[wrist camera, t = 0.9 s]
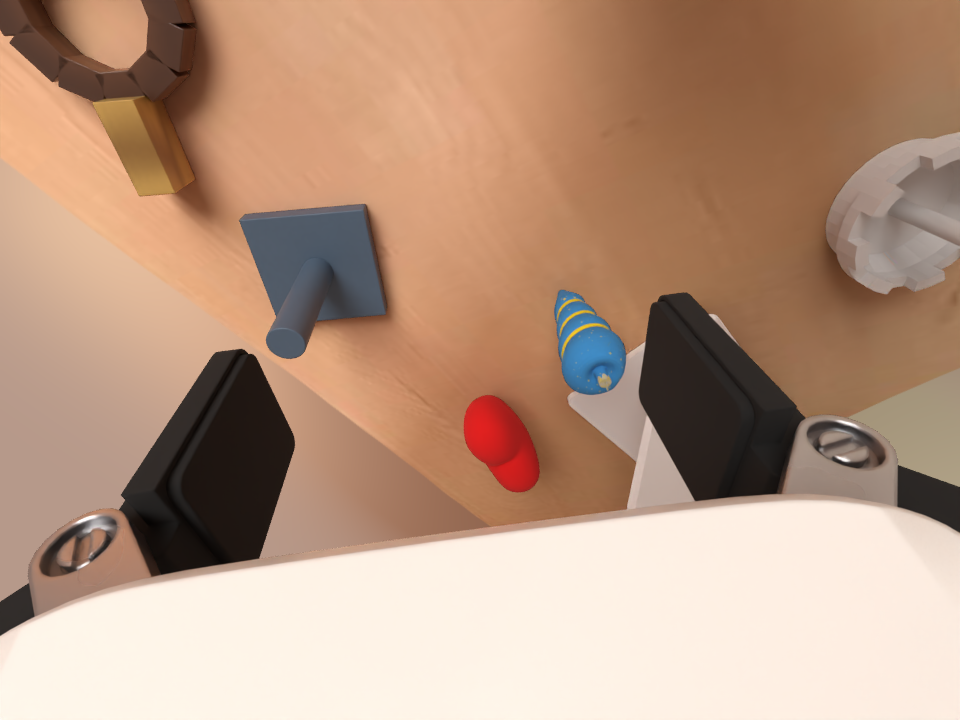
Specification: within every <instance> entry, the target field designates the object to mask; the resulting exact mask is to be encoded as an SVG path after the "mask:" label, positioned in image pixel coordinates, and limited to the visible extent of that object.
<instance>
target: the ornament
mask: <svg viewBox="0 0 960 720" xmlns="http://www.w3.org/2000/svg"><path fill="white" fill-rule="evenodd" d="M554 314H555V320H556V323H557V336H558V339H559V345H558V351H559V356H560V359H561V362H562V373H563V376H564V379H565V381H566V383H567V384H568V385H569V386H570V387H571V388H572V389H573V390H574V391H576V392H578V393H581V394H586V395H597V394H602V393H605V392H608V391H610V390H612V389H613V388H615V386H616V385H617V384H618V382H619V381H620V379H621V378H622V376H623V374H624V371H625V366H626V351H625V347H624V344H623V342H622V341H621V339H620V338H619V337H618V336H617V335H616V334H615V333H614V332H612V331H611V329H610V326H609V325H608V323H607V322H606V321H605V320H603V319H602V318H601V317H599V316H597V314H596V312H595V311H594V309H593V308H592V307H590V306H589V305H587V304H586V303H585V301H584V299H583V298H582V297H581V296H580V295H579V294H577V293H573V292H569V291H565V290H560V291H559V293H558V296H557V300H556V304H555V310H554Z"/></svg>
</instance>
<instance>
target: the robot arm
mask: <svg viewBox="0 0 960 720" xmlns="http://www.w3.org/2000/svg"><path fill="white" fill-rule="evenodd" d="M639 399H640V402H641V405H642V406H643V408H644V410H645V412H646V414H647V415H648V417H649V419H650V421H651V423H652V424H653V426H654V428H655V430H656V432H657V434H658V435H659V437H660V439H661V441H662V443H663V444H664V446H665V448H666V450H667V452H668V453H669V455H670V457H671V459H672V461H673V462H674V464H675V466H676V468H677V470H678V471H679V473H680V475H681V477H682V479H683V480H684V482H685V484H686V486H687V488H688V489H689V491H690V493H691V495H692V497H693V498H694V500H695V501H694V502H685V503H676V504H667V505H658V506H650V507H642V508H634V509H626V510H619V511H611V512H603V513H595V514H587V515H580V516H572V517H564V518H556V519H548V520H540V521H533V522H525V523H518V524H510V525H503V526H495V527H488V528H481V529H472V530H465V531H458V532H451V533H442V534H435V535H428V536H420V537H413V538H405V539H398V540H390V541H383V542H376V543H369V544H361V545H354V546H347V547H340V548H334V549H326V550H318V551H311V552H305V553H297V554H289V555H282V556H275V557H268V558H261V559H259V557H260V554H261V551H262V548H263V545H264V542H265V539H266V536H267V532H268V529H269V526H270V523H271V520H272V517H273V514H274V511H275V507H276V504H277V501H278V498H279V495H280V492H281V489H282V486H283V482H284V480H285V476H286V473H287V470H288V467H289V464H290V461H291V458H292V455H293V452H294V448H295V440H294V436H293V433H292V431H291V429H290V427H289V424H288V422H287V420H286V418H285V416H284V414H283V412H282V410H281V408H280V406H279V404H278V402H277V400H276V397H275V395H274V393H273V392H272V389H271V387H270V385H269V383H268V381H267V379H266V377H265V375H264V373H263V371H262V368H261V366H260V364H259V362H258V360H257V358H256V357H255V356H254V355H253V354H248V353H247V352H246V351H245V350H243V349H237V350H229V351H221V352H216V353H215V354H214V355H213V356H212V357H211V359H210V360H209V362H208V363H207V365H206V366H205V368H204V369H203V371H202V372H201V374H200V375H199V377H198V379H197V380H196V382H195V383H194V385H193V386H192V388H191V389H190V391H189V392H188V394H187V395H186V397H185V398H184V400H183V401H182V403H181V404H180V406H179V407H178V409H177V410H176V412H175V413H174V415H173V417H172V418H171V419H170V421H169V422H168V424H167V426H166V427H165V429H164V430H163V432H162V433H161V435H160V436H159V438H158V439H157V441H156V442H155V444H154V445H153V447H152V448H151V450H150V451H149V453H148V454H147V456H146V457H145V459H144V460H143V462H142V463H141V465H140V467H139V468H138V470H137V471H136V473H135V474H134V476H133V477H132V479H131V480H130V482H129V483H128V485H127V487H126V488H125V489H124V491H123V492H122V494H121V496H122V497H123V498H124V499H125V502H124V503H123V505H122V506H121V508H120V509H119V510H116V509H113V508H110V509H99V510H96V511H92V512H89V513H86V514H84V515H82V516H80V517H78V518H76V519H73V520H72V521H70V522H69V523H67V524H66V525H64V526H63V527H61V528H59V529H58V530H57V531H56V532H55V533H54V534H52V535H51V536H50V537H49V538H48V539H47V540H46V541H45V542H44V543H43V544H42V545H41V546H40V547H39V549H38V550H37V551H36V552H35V554H34V556H33V558H32V560H31V562H30V564H29V569H28V579H29V583H28V584H27V585H25V586H24V587H22V588H21V589H19V590H18V591H16V592H14V593H13V594H12V595H10V596H8V597H7V598H5V599H4V600H2V601H1V602H0V720H960V487H958V486H955V485H952V484H949V483H947V482H944V481H941V480H938V479H935V478H932V477H930V476H927V475H924V474H921V473H919V472H916V471H913V470H910V469H907V468H904V467H902V466H899V465H898V459H897V455H896V451H895V449H894V448H893V446H892V445H891V444H890V442H889V441H888V440H887V439H886V438H885V437H883V436H882V435H881V434H880V433H878V432H877V431H876V430H874V429H872V428H870V427H869V426H866V425H865V424H863V423H860V422H858V421H855V420H852V419H849V418H846V417H841V416H836V415H816V416H811V417H808V418H805V417H804V416H803V415H802V414H801V413H800V412H799V411H798V410H797V409H796V407H797V406H796V405H795V404H794V403H793V402H792V401H791V400H790V399H789V398H788V397H787V396H786V394H785V393H784V392H783V391H782V390H781V389H780V388H779V387H778V386H777V385H776V384H775V383H774V382H773V381H772V380H771V379H770V378H769V377H768V376H767V375H766V374H765V373H764V372H763V370H762V369H761V368H760V367H759V366H758V365H757V364H756V363H755V362H754V361H753V360H752V359H751V358H750V357H749V356H748V355H747V354H746V353H745V352H744V351H743V350H742V349H741V348H740V346H739V345H738V344H737V343H736V342H735V341H734V340H733V339H732V338H731V337H730V336H729V335H728V334H727V333H726V332H725V331H724V330H723V329H722V328H721V327H720V326H719V325H718V324H717V322H716V321H715V320H714V319H713V318H712V317H711V316H710V315H709V314H708V313H707V312H706V311H705V310H704V309H703V308H702V307H701V306H700V305H699V304H698V303H697V302H696V301H695V300H694V298H693V297H692V296H691V295H690V294H688V293H677V294H669V295H662V296H660V297H659V299H658V302H654V303H653V304H652V305H651V308H650V315H649V322H648V328H647V335H646V342H645V349H644V356H643V363H642V369H641V376H640V383H639Z"/></svg>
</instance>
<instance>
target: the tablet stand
mask: <svg viewBox="0 0 960 720" xmlns="http://www.w3.org/2000/svg"><path fill="white" fill-rule="evenodd" d="M709 315H710V316H711V317H712V318H713V319H714V320H715V321H716V322H717V324H718V325H719V326H720V327H721V328H722V329H723V330H724V331H725V332H726V333H727V334H728V335H729V336H730V337H731V338H732V339H733V340H734V341H735V342H736V340H735V339H734V338H733V336H732V335H731V334H730V332H729V331H728V329H727V328H726V327H725V325H724V324H723V323H722V321H721V320H720V319H719V317H718V316H716V315H714V314H709ZM645 342H646V341H645ZM645 342H644V343H642V344H641V345H640V346H638V347H637V348H635V349H634V350H632V351H631V352H630V353H628V354H627V355H626V366H625V371H624V374H623V376H622V378H621V379H620V381H619V382H618V384H617V385H616V386H615V388H613V389H612V390H610V391H608V392H605V393H602V394H597V395H586V394H581V393H578V392H576V391H574V392H572V393H571V394H569V395H568V397H567V400H568V403H569V405H570V406H571V407H572V408H573V409H574V410H575V411H576V412H578V413H579V414H580V415H581V416H582V417H584V418H585V419H586V420H587V421H588V422H590V423H591V424H592V425H593V426H594V427H595V428H597V429H598V430H599V431H600V432H601V433H603V434H604V435H605V436H606V437H607V438H609V439H610V440H611V441H612V442H613V443H615V444H616V445H617V446H618V447H619V448H620V449H622V450H623V451H624V452H625V453H626V454H628V455H629V456H630V457H631V458H632V459H634V460H635V461H636V462H637V463H636V468H635V472H634V477H633V481H632V486H631V491H630V495H629V500H628V505H627V509H634V508H642V507H650V506H658V505H667V504H676V503H685V502H694V501H695V500H694V498H693V497H692V495H691V493H690V491H689V489H688V488H687V486H686V484H685V482H684V480H683V479H682V477H681V475H680V473H679V471H678V470H677V468H676V466H675V464H674V462H673V461H672V459H671V457H670V455H669V453H668V452H667V450H666V448H665V446H664V444H663V443H662V441H661V439H660V437H659V435H658V434H657V432H656V430H655V428H654V426H653V424H652V423H651V421H650V419H649V417H648V415H647V414H646V412H645V410H644V408H643V406H642V405H641V402H640V399H639V383H640V376H641V369H642V363H643V356H644V349H645ZM736 343H737V342H736ZM737 344H738V343H737ZM738 345H739V344H738ZM740 348H741V347H740Z"/></svg>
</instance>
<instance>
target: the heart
mask: <svg viewBox="0 0 960 720" xmlns="http://www.w3.org/2000/svg"><path fill="white" fill-rule="evenodd" d="M464 436H465V441H466V444H467V446H468V448H469V450H470V451H471V452H472V454H473V455H474V456H475V457H476V458H478V459H479V460H480V461H482V462H484V463H486V465H487V466H488V468H489V469H490V471H491V472H492V473H493V475H494V476H495V478H496V479H497V480H498V481H499V483H500V484H501V485H502V486H503V487H504V488H506V489H507V490H509V491H512V492H525V491H527V490H529V489H531V488H532V487H533V486H534V485H535V484H536V482H537V481H538V478H539V474H540V469H539V462H538V458H537V454H536V451H535V448H534V445H533V442H532V440H531V437H530V435H529V433H528V431H527V429H526V428H525V426H524V424H523V423H522V422H521V420H520V419H519V417H518V416H517V415H516V414H515V413H514V411H513V410H512V409H511V408H510V407H509V406H508V405H507V404H506V403H505V402H503V401H502V400H501V399H499V398H497V397H495V396H491V395H485V396H481V397H479V398H477V399H475V400H474V401H473V402H472V403H471V404H470V405H469V407H468V409H467V411H466V414H465V418H464Z"/></svg>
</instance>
